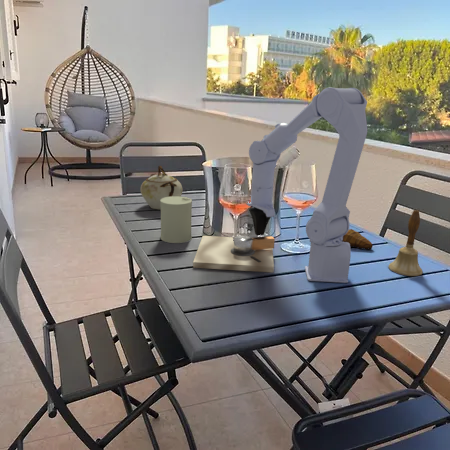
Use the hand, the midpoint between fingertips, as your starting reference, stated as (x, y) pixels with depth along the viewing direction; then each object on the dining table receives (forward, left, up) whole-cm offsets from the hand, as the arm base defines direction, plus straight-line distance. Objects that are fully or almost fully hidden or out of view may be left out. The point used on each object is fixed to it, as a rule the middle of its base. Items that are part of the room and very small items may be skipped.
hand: (259, 234), depth 124 cm
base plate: (+6, +5, -5) cm, 9 cm away
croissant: (-27, -9, -5) cm, 29 cm away
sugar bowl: (+35, -38, -5) cm, 52 cm away
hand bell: (-38, +8, -5) cm, 39 cm away
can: (+24, -6, -5) cm, 26 cm away
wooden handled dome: (+1, +5, -3) cm, 6 cm away
